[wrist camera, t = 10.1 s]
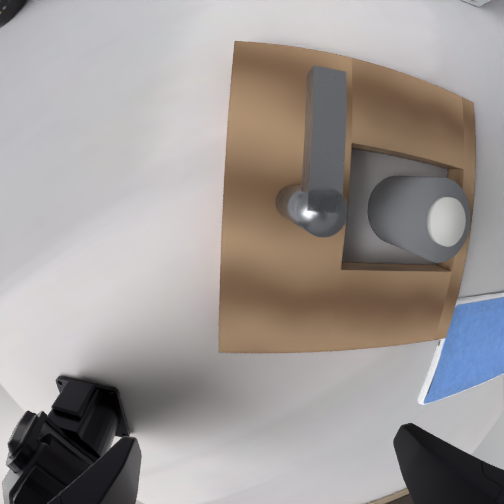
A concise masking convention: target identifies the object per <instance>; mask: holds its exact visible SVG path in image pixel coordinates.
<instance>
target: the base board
mask: <svg viewBox="0 0 504 504" xmlns="http://www.w3.org/2000/svg"><path fill="white" fill-rule="evenodd" d="M314 65H315V66H320V67H326V68H331V69H336V70H341V71H345V72H346V143H345V165H344V181H343V195H342V196H343V197H344V199H345V201H346V203H347V207H348V196H349V183H350V167H351V148H354V149H360V150H366V151H371V152H377V153H382V154H387V155H392V156H396V157H401V158H406V159H410V160H414V161H418V162H423V163H427V164H431V165H435V166H438V167H442V168H446V169H448V178H449V179H451V180H453V181H455V182H456V183H457V184H458V185H459V186H460V187H461V188H462V189H463V191H464V193H465V195H466V197H467V199H468V203H469V208H470V227H469V232H468V235H467V238H466V241H465V243H464V245H463V246H462V248H461V249H460V251H459V252H458V253H457V254H456V255H455V256H454V257H453V258H451V259H450V260H448V261H445V262H442V263H438V264H437V265H419V264H384V263H351V262H342V255H343V247H344V238H345V229H346V223H345V225H344V226H343V228H342V229H341V230H340V231H339V232H338V233H336V234H335V235H333V236H330V237H326V238H321V237H316V236H314V235H312V234H310V233H309V232H307V231H305V230H304V229H302V228H301V227H299V226H298V225H296V224H294V223H293V222H291V221H290V220H288V219H286V218H285V217H283V216H282V215H281V214H280V213H279V212H278V210H277V208H276V196H277V194H278V192H279V191H280V190H281V189H282V188H284V187H286V186H289V185H302V170H303V153H304V133H305V109H306V75H307V73H308V72H309V71H310V70H311V68H312V67H313V66H314ZM475 170H476V135H475V115H474V103H473V102H471V101H469V100H467V99H465V98H463V97H461V96H459V95H456V94H454V93H452V92H450V91H448V90H445V89H443V88H441V87H438V86H436V85H433V84H431V83H428V82H426V81H423V80H421V79H418V78H415V77H413V76H410V75H407V74H404V73H401V72H398V71H395V70H392V69H389V68H386V67H383V66H379V65H376V64H372V63H369V62H365V61H361V60H358V59H354V58H350V57H345V56H341V55H337V54H332V53H327V52H322V51H317V50H311V49H305V48H299V47H292V46H285V45H277V44H267V43H256V42H243V41H235V43H234V53H233V64H232V76H231V88H230V100H229V113H228V128H227V142H226V158H225V176H224V194H223V215H222V239H221V268H220V306H219V352H226V353H299V352H323V351H340V350H354V349H366V348H376V347H386V346H395V345H403V344H411V343H418V342H425V341H432V340H438V339H444V338H446V336H447V333H448V330H449V326H450V323H451V320H452V316H453V313H454V309H455V305H456V301H457V298H458V294H459V289H460V285H461V281H462V276H463V271H464V266H465V261H466V256H467V250H468V244H469V237H470V230H471V222H472V214H473V203H474V190H475Z"/></svg>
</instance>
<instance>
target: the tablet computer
mask: <svg viewBox="0 0 504 504" xmlns="http://www.w3.org/2000/svg"><path fill="white" fill-rule="evenodd" d="M503 374H504V292H501V293H495V294H486V295H478V296H471V297H465V298H457V301H456V305H455V309H454V313H453V316H452V320H451V323H450V326H449V330H448V333H447V336H446V338H444V339H439V342H438V345H437V348H436V351H435V354H434V357H433V360H432V363H431V366H430V369H429V372H428V375H427V378H426V380H425V383H424V386H423V388H422V391H421V393H420V395H419V398H418V403H419V404H421V405H426V404H429V403H432V402H435V401H438V400H441V399H444V398H447V397H450V396H452V395H455V394H458V393H460V392H463V391H465V390H468V389H470V388H473V387H475V386H478V385H480V384H483V383H485V382H487V381H490V380H492V379H494V378H496V377H499V376H501V375H503Z"/></svg>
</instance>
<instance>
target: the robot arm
mask: <svg viewBox="0 0 504 504" xmlns="http://www.w3.org/2000/svg"><path fill="white" fill-rule="evenodd" d="M56 383H57V386H58V389H59V392H60V394H59V396H58V397H57V399H56V400H55V402H54V403H53V405H52V410H51V411H50V413H49V414H48V415H47V414H46V413H44V412H43V411H41V412H40V413H39V414H37V415H36V414H35V413H32V412H30V411H26V412H25V414H24V415H23V416H22V418H21V419H20V421H19V422H18V424H17V425H16V427H15V429H14V431H13V433H12V435H11V437H10V439H9V442H8V448H9V453H8V458H7V461H6V465H7V466H8V467H9V468H10V470H9V472H8V474H7V475H6V477H5V478H4V480H3V483H2V487H3V497H4V504H135V502H136V498H137V492H138V483H139V474H140V465H141V450H140V447H139V444H138V441H137V439H136V438H135V437H129V435H130V432H129V428H128V425H127V422H126V418H125V415H124V411H123V407H122V403H121V400H120V396H119V392H118V390H117V389H116V388H114V387H109V386H103V385H98V384H93V383H88V382H83V381H78V380H74V379H69V378H65V377H61V376H59V377H58V378H57V379H56ZM112 392H113V393H112ZM114 436H118V437H122V438H121V439H120V440H119V441H118V442H117V443H116V444H115V445H113V446H112V447H111V444H112V442H113V439H114ZM393 444H394V448H395V452H396V455H397V459H398V462H399V466H400V469H401V473H402V476H403V479H404V481H405V484H406V486H407V488H408V491H409V493H410V496H411V498H412V501H413V503H414V504H504V470H502V469H500V468H497V467H495V466H492V465H490V464H488V463H486V462H484V461H482V460H480V459H478V458H476V457H474V456H472V455H470V454H468V453H466V452H464V451H462V450H460V449H458V448H456V447H454V446H453V445H451V444H449V443H447V442H445V441H443V440H441V439H440V438H438V437H436V436H434V435H432V434H430V433H429V432H427V431H425V430H423V429H422V428H420V427H418V426H416V425H414V424H413V423H408V424H404V425H402V426H401V427H400V428H399V430H398V432H397V434H396V436H395V438H394V441H393ZM110 447H111V448H110Z"/></svg>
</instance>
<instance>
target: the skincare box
mask: <svg viewBox="0 0 504 504" xmlns="http://www.w3.org/2000/svg"><path fill="white" fill-rule="evenodd" d="M462 1H465V2H467V3H470V4H472V5H474V6H477V7H480V6H482V5H484V4H485V3H487V2H489V1H491V0H462Z"/></svg>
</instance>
